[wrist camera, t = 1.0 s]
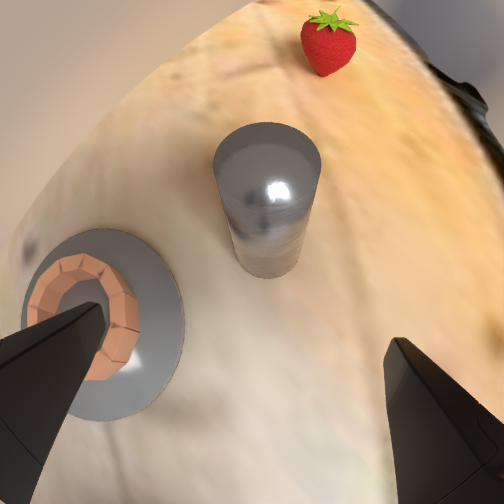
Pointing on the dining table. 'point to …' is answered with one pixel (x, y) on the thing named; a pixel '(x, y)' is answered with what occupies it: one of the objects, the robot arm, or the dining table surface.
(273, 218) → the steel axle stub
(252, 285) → the dining table surface
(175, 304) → the slate seat plate
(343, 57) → the strawberry
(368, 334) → the dining table surface
